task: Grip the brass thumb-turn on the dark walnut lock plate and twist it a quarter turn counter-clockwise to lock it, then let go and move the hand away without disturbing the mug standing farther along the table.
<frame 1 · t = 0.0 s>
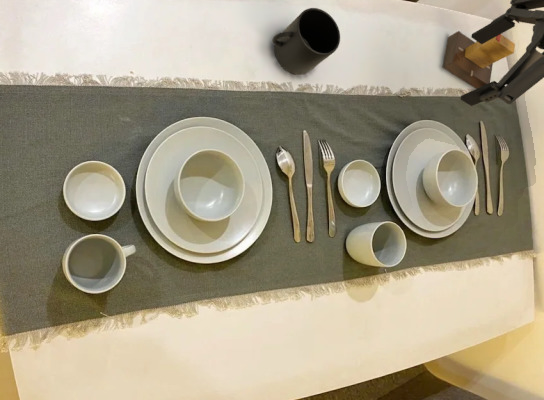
hand: (471, 69, 85), 20 cm above the table, tool pointing down, fingers open, 13 cm apart
lock knob: (489, 50, 109), point 7 cm above the table, hinge at 0.0°
mug: (288, 53, 96), on the table
lock plate: (463, 63, 115), on the table
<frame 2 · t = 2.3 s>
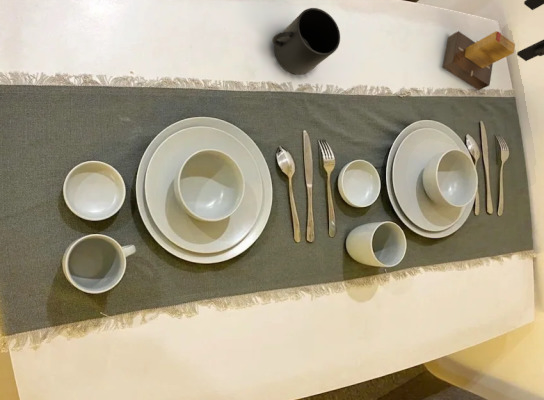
hand: (524, 30, 101), 16 cm above the table, tool pointing down, fingers open, 13 cm apart
nothing on the table moved.
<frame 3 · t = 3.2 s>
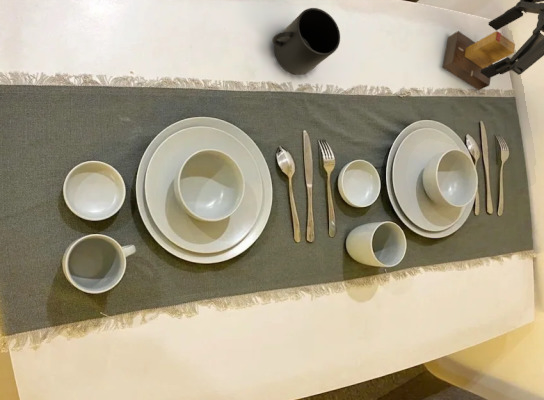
hand: (488, 49, 109), 7 cm above the table, tool pointing down, fingers open, 13 cm apart
nothing on the table moved.
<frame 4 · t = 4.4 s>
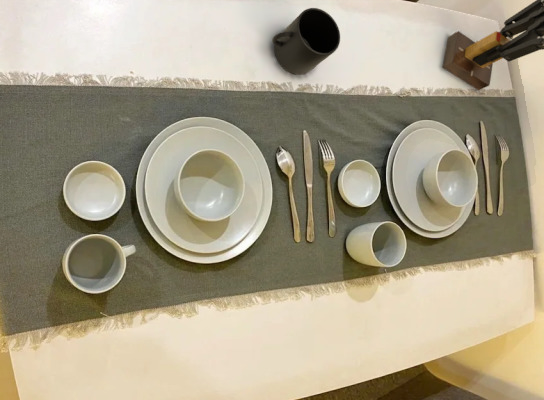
hand: (477, 56, 111), 4 cm above the table, tool pointing down, fingers closed on lock knob, 2 cm apart
lock knob: (489, 50, 109), point 7 cm above the table, hinge at 0.9°, touching gripper
everything else where it was.
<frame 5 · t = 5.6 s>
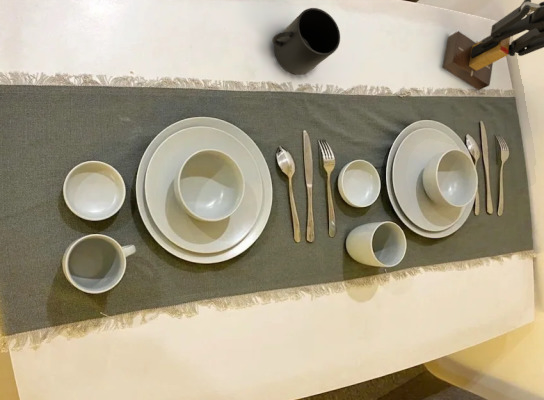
hand: (477, 56, 112), 4 cm above the table, tool pointing down, fingers closed on lock knob, 2 cm apart
lock knob: (489, 50, 109), point 7 cm above the table, hinge at 89.5°, touching gripper
everything else where it was.
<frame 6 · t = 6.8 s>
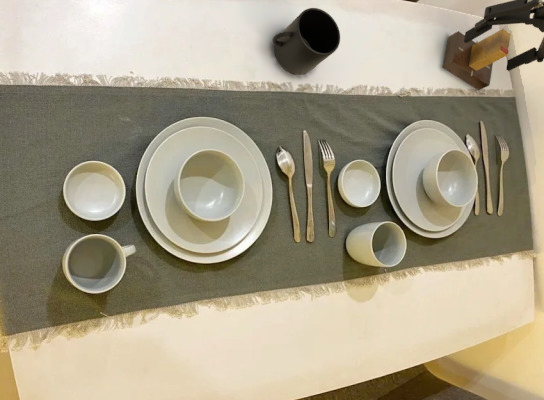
hand: (487, 52, 109), 6 cm above the table, tool pointing down, fingers open, 13 cm apart
lock knob: (489, 50, 109), point 7 cm above the table, hinge at 89.5°
everything else where it was.
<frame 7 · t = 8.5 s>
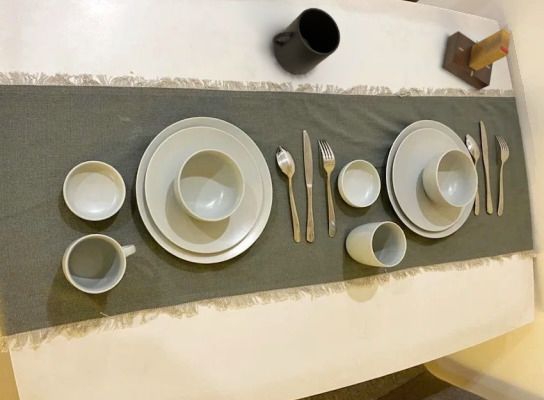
nothing on the table moved.
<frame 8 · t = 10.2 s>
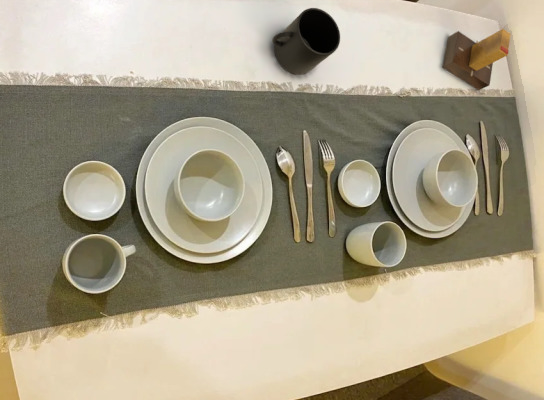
nothing on the table moved.
at the end: lock knob at +90° (first picture: +0°); the gripper is holding nothing; mug moved 0.2 cm from its start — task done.
